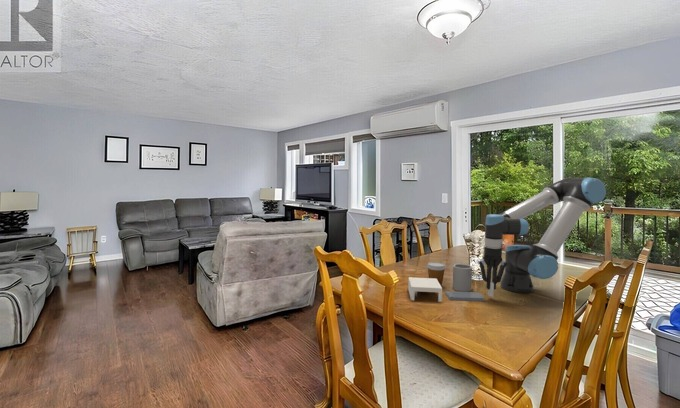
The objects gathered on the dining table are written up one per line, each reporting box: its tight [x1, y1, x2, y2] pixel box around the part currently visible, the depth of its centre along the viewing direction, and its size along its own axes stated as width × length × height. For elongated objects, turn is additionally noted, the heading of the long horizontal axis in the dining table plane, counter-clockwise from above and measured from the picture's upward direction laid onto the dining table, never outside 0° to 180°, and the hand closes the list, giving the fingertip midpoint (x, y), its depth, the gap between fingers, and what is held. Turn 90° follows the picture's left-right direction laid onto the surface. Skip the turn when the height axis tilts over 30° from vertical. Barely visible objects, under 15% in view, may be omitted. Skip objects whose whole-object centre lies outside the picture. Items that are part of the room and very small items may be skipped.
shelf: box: [407, 276, 443, 303], centre depth 156 cm, size 14×15×6 cm
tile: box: [445, 290, 486, 302], centre depth 154 cm, size 16×8×2 cm, turn 85°
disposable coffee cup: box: [426, 261, 447, 288], centre depth 170 cm, size 10×10×12 cm
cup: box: [452, 263, 473, 292], centre depth 166 cm, size 9×9×12 cm
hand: (490, 295), depth 152 cm, fingers closed
